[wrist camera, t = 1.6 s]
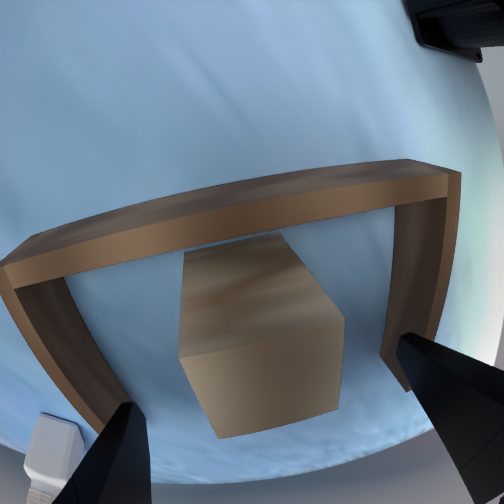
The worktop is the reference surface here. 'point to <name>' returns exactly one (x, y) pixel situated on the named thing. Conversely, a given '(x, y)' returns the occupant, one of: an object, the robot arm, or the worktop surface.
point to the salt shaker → (52, 457)
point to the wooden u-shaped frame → (221, 228)
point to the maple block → (258, 336)
